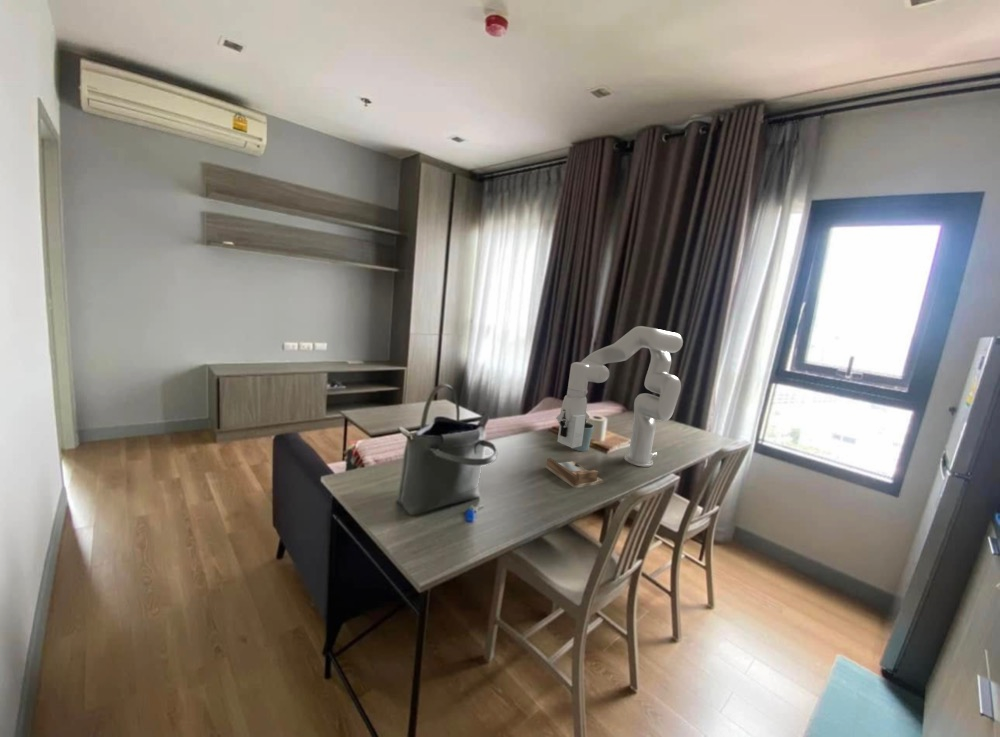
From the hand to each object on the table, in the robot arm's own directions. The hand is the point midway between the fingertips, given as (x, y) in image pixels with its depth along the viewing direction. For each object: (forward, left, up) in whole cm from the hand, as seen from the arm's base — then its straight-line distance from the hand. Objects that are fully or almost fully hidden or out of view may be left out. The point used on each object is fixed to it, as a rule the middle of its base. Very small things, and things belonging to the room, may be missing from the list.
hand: (570, 435), depth 168 cm
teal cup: (-23, -19, -15) cm, 33 cm away
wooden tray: (0, +5, -15) cm, 16 cm away
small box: (0, 0, -4) cm, 4 cm away
